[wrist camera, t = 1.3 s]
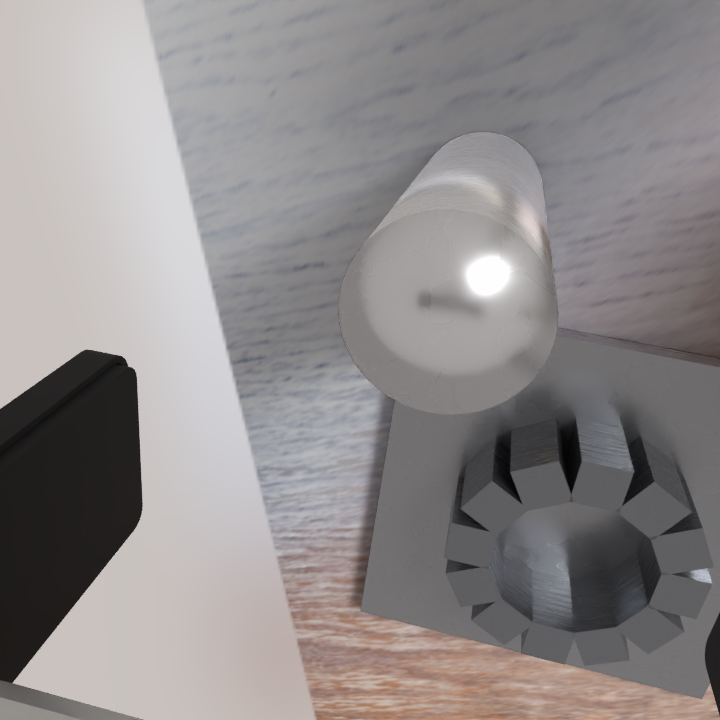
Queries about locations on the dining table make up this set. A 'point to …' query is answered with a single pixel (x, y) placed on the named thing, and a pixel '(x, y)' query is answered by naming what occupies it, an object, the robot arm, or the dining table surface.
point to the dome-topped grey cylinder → (456, 282)
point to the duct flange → (564, 515)
